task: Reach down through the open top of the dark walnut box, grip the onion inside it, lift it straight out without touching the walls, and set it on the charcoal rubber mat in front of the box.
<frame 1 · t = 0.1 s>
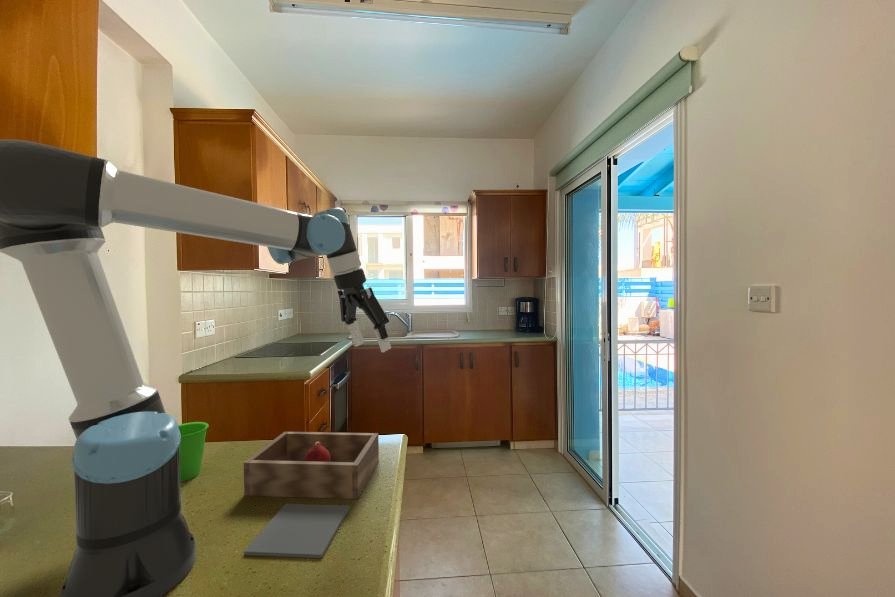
hand: (372, 347, 95), 28 cm above the countertop, tool tilted 20°, fingers open, 13 cm apart
onion: (317, 477, 82), resting in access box
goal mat: (301, 529, 64), on the countertop
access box: (317, 476, 82), on the countertop
cup: (186, 476, 83), on the countertop
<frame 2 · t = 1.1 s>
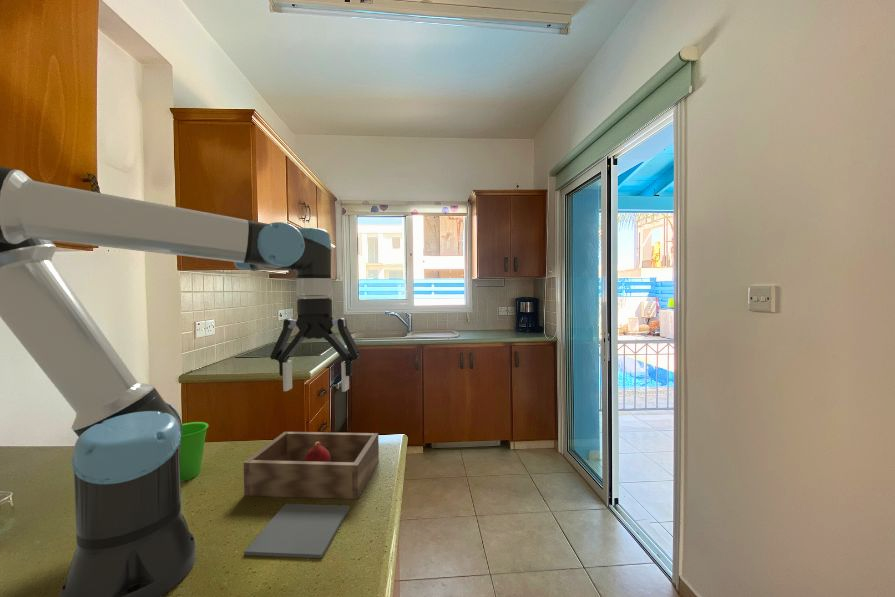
hand: (316, 390, 82), 20 cm above the countertop, tool pointing down, fingers open, 13 cm apart
nothing on the countertop moved.
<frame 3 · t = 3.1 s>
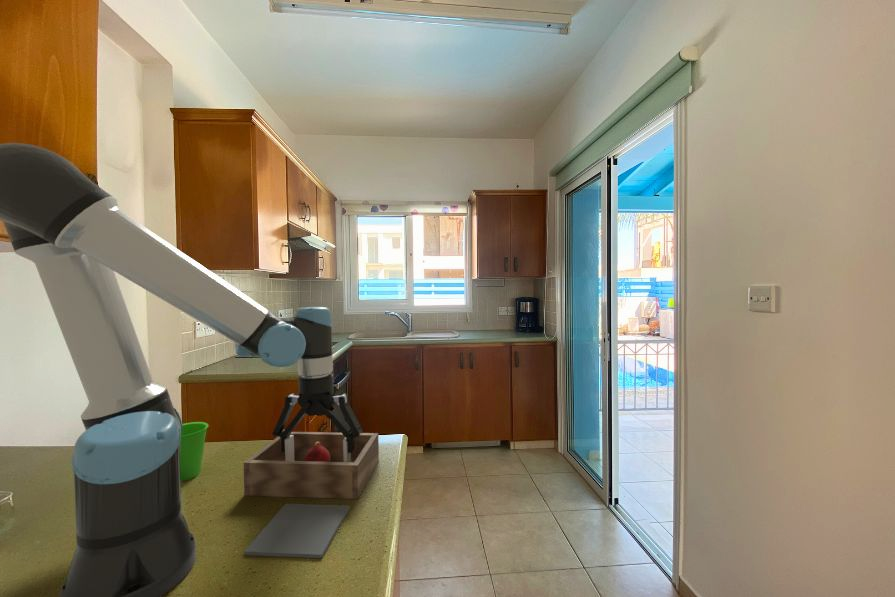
hand: (318, 465, 83), 2 cm above the countertop, tool pointing down, fingers open, 13 cm apart
nothing on the countertop moved.
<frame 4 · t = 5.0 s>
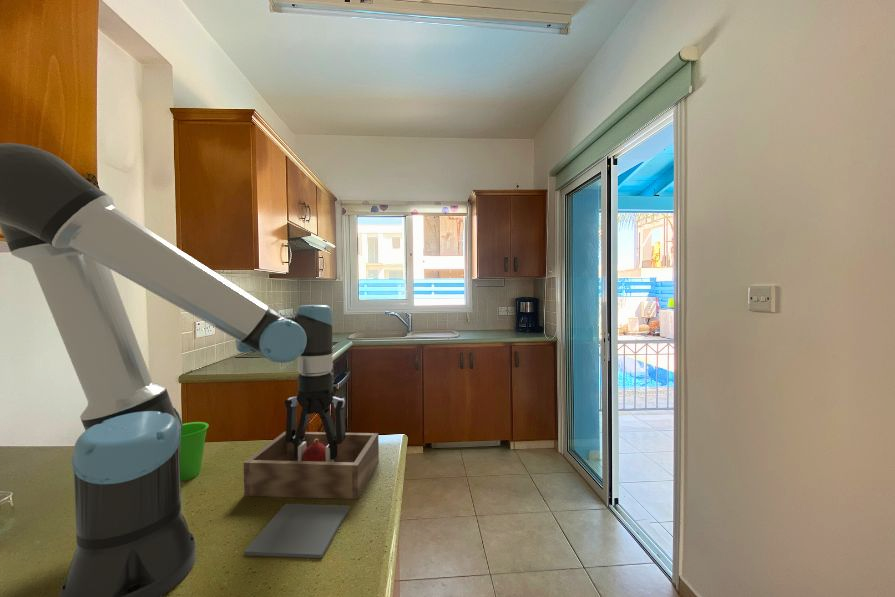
hand: (316, 472, 82), 1 cm above the countertop, tool pointing down, fingers closed on onion, 6 cm apart
onion: (315, 474, 82), point 1 cm above the countertop, touching gripper
everything else where it was.
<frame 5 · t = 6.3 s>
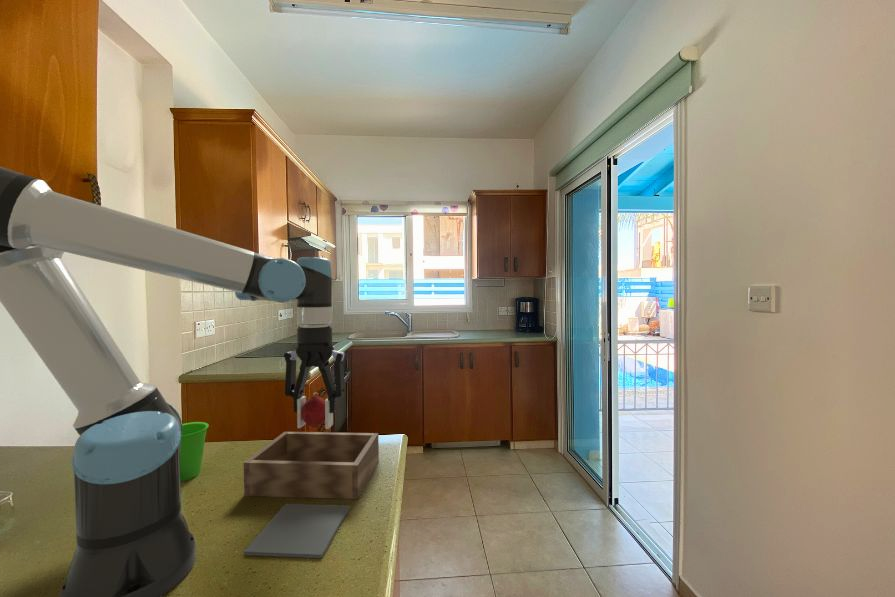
hand: (315, 426, 82), 12 cm above the countertop, tool pointing down, fingers closed on onion, 6 cm apart
onion: (315, 428, 82), point 11 cm above the countertop, touching gripper
everything else where it was.
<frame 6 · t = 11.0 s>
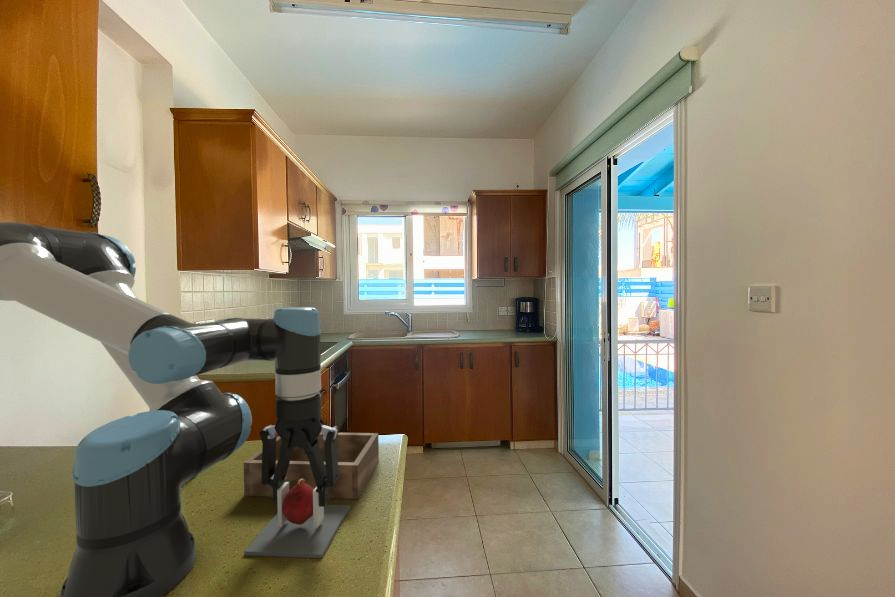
hand: (301, 521, 64), 1 cm above the countertop, tool pointing down, fingers closed on onion, 6 cm apart
onion: (300, 525, 64), point 1 cm above the countertop, touching gripper
everything else where it was.
when the fingers open (1 cm above the countertop, at t = 11.1 s): onion stays where it is, resting on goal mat.
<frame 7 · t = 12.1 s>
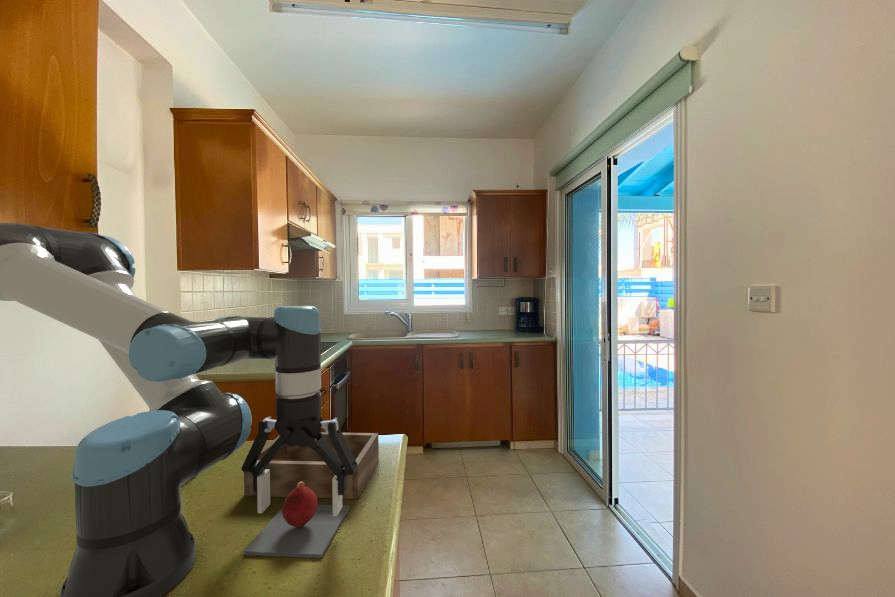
hand: (300, 510, 64), 4 cm above the countertop, tool pointing down, fingers open, 13 cm apart
onion: (300, 527, 64), resting on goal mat
everything else where it was.
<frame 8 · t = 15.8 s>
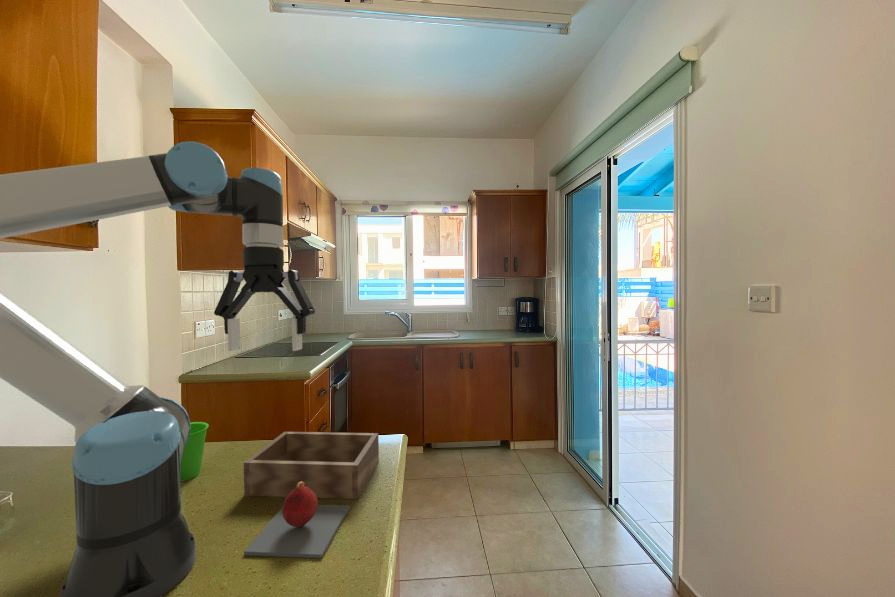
hand: (265, 350, 74), 31 cm above the countertop, tool pointing down, fingers open, 13 cm apart
nothing on the countertop moved.
at the end: onion inside the target area on the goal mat (0.1 cm from its centre), point 0.4 cm above the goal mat's base; onion touching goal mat; the gripper is holding nothing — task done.
